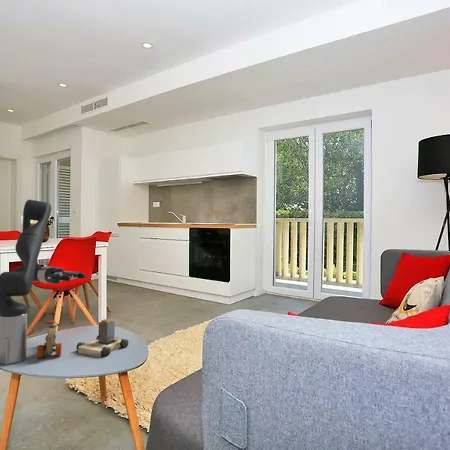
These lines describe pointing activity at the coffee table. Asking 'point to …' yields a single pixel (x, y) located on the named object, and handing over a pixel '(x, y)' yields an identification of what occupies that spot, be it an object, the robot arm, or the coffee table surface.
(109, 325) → the block
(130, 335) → the coffee table surface
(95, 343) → the chassis
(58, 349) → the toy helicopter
